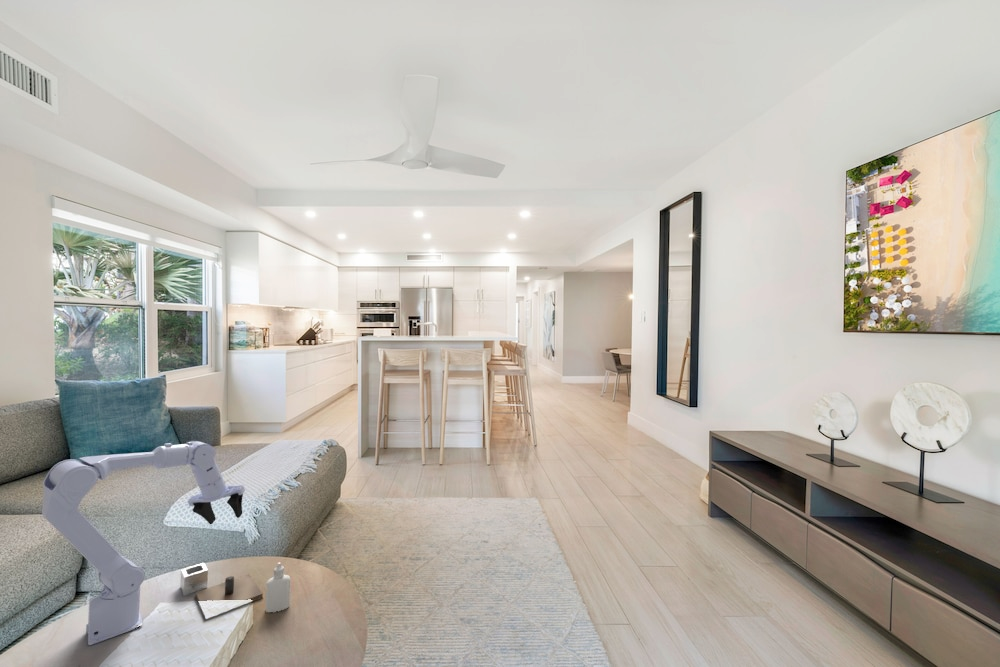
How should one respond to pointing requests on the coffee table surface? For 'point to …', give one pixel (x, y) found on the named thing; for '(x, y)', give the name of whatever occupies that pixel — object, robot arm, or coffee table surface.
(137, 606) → the robot arm
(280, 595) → the eye dropper bottle
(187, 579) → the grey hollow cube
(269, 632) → the coffee table surface
